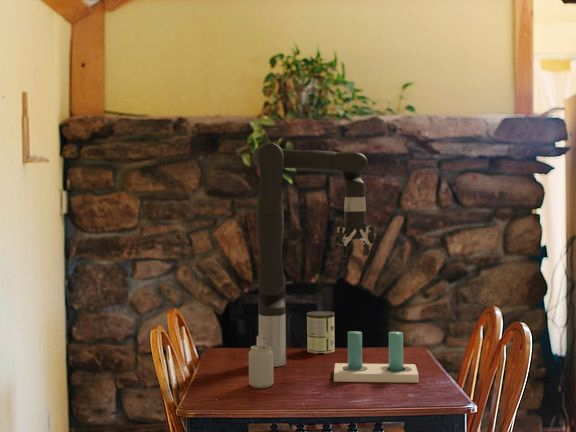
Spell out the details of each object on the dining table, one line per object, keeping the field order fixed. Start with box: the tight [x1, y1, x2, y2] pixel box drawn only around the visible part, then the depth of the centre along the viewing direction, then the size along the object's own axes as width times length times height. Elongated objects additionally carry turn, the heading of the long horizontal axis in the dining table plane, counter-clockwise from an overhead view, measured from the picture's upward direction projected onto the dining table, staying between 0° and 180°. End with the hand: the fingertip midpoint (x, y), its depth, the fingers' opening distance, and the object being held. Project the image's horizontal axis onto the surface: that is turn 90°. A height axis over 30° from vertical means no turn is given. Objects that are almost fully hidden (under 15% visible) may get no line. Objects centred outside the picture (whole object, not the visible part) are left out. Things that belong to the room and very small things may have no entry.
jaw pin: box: [388, 331, 404, 371], centre depth 244 cm, size 4×4×14 cm
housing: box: [333, 362, 420, 384], centre depth 245 cm, size 14×26×3 cm, turn 85°
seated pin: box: [347, 330, 363, 370], centre depth 245 cm, size 4×4×14 cm
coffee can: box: [306, 310, 335, 354], centre depth 285 cm, size 10×10×14 cm
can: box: [248, 344, 274, 389], centre depth 234 cm, size 8×8×12 cm
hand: (355, 256), depth 271 cm, fingers open, 8 cm apart
